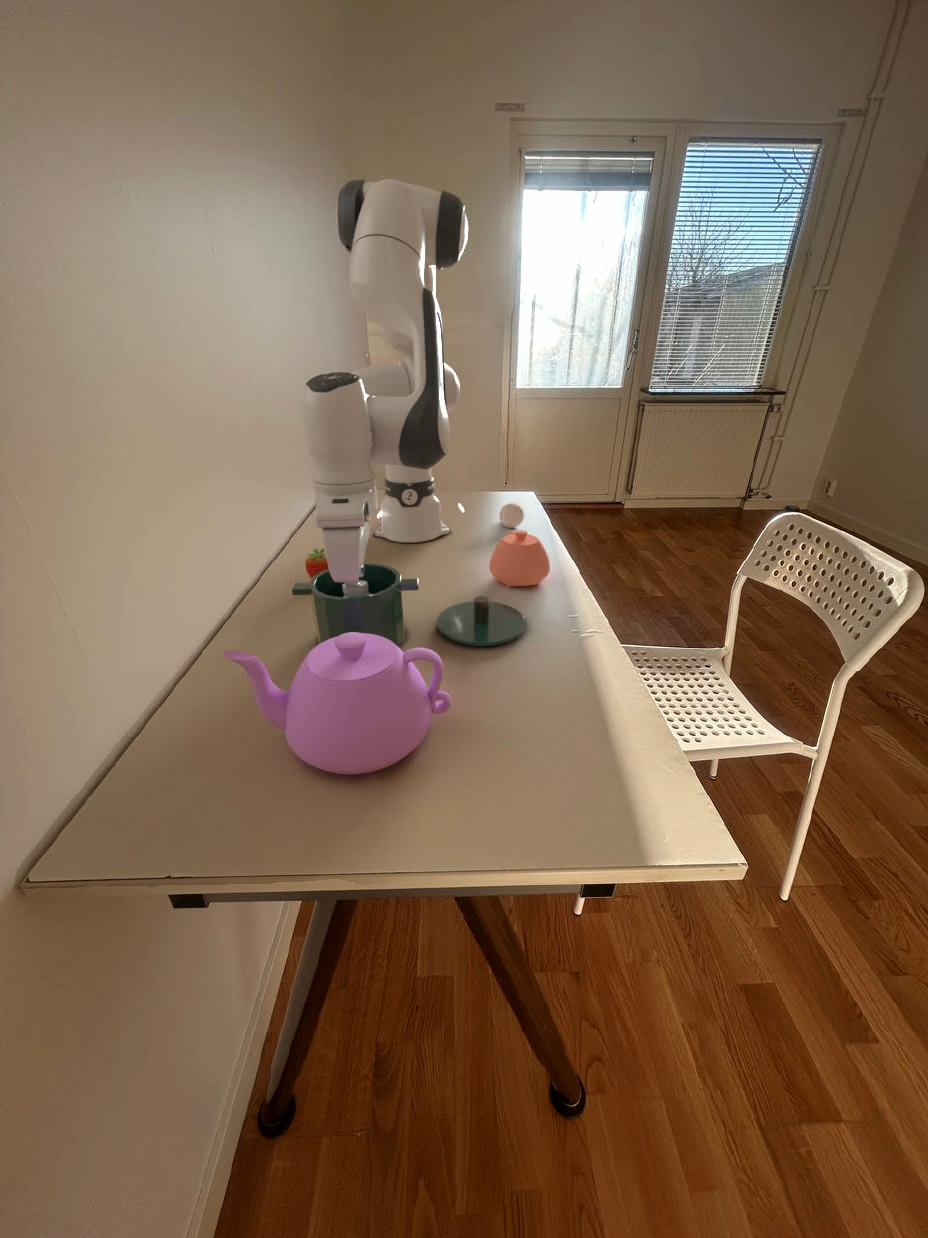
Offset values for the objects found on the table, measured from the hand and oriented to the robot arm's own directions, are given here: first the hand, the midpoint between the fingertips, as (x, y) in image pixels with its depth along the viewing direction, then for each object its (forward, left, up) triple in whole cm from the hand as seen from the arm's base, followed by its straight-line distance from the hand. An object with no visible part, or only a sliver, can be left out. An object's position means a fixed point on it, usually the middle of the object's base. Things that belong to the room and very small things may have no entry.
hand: (356, 585), depth 81 cm
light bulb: (-57, +34, -10) cm, 67 cm away
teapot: (+24, +1, -10) cm, 26 cm away
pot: (0, 0, -10) cm, 10 cm away
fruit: (-22, -10, -10) cm, 26 cm away
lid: (-2, +20, -9) cm, 22 cm away
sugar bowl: (-22, +30, -10) cm, 38 cm away
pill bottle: (0, 0, -9) cm, 9 cm away
